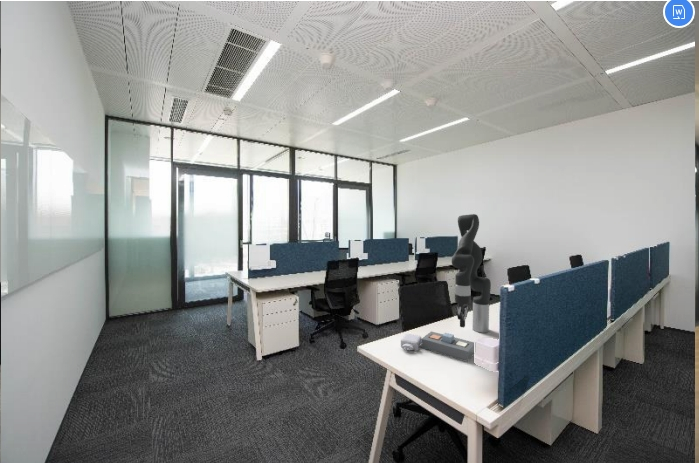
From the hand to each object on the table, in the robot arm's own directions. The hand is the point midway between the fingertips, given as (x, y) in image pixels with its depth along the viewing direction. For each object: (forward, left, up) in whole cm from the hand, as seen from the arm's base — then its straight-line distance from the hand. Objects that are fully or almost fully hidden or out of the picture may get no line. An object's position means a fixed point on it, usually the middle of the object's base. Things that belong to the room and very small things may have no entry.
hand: (462, 326), depth 146 cm
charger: (+11, -24, -15) cm, 30 cm away
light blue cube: (0, -7, -11) cm, 13 cm away
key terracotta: (0, -14, -14) cm, 20 cm away
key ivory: (0, 0, -14) cm, 14 cm away
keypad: (0, -7, -14) cm, 16 cm away
